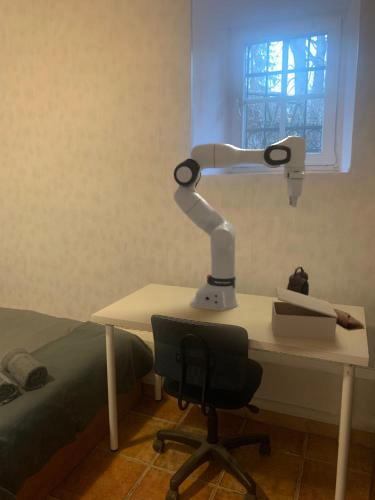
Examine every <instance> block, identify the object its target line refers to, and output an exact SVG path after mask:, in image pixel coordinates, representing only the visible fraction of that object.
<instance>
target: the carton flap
mask: <svg viewBox="0 0 375 500" xmlns="http://www.w3.org/2000/svg"><path fill="white" fill-rule="evenodd" d="M274 287H275V292H276V297H277V300H278V301H279V302H286V303H290V304H293V305H296V306H300V307H303V308H306V309H310V310H313V311H316V312H320V313H323V314H326V315H330V316H333V317H336V318H337V317H338V316H337V314H336V313H335V311H334V309H335V308H334V307H333V306H332V305H331V303H330V302H329V301H327V300H324V299H320V298H317V297H313V296H310V295H308V296H307V295H304V294H300V293H297V292H293V291H290V290H287V288H282V287H279V286H274ZM333 308H334V309H333Z"/></svg>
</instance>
